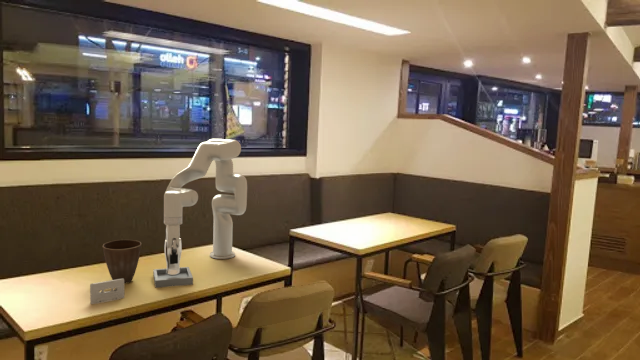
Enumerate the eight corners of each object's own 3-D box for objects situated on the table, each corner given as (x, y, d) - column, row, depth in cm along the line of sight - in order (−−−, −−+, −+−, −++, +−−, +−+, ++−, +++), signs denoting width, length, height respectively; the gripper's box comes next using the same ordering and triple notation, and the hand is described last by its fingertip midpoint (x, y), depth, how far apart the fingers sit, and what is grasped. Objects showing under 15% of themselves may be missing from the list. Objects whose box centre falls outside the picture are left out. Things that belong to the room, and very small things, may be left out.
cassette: (123, 296, 185) (123, 277, 184) (124, 298, 183) (124, 279, 182) (89, 303, 177) (89, 283, 176) (91, 305, 176) (90, 284, 175)
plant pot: (127, 289, 193) (127, 250, 191) (95, 285, 196) (94, 247, 194) (148, 277, 207) (148, 241, 205) (117, 273, 210) (117, 238, 208)
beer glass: (171, 277, 200) (171, 242, 198) (161, 273, 204) (161, 239, 203) (184, 273, 206) (185, 239, 204) (174, 270, 210) (175, 236, 208)
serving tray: (153, 276, 209) (153, 269, 209) (188, 273, 215) (188, 266, 215) (155, 287, 196) (155, 280, 195) (192, 284, 201) (193, 277, 201)
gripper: (162, 216, 209) (162, 255, 211) (165, 225, 193) (165, 267, 195) (180, 215, 211) (180, 254, 214) (184, 224, 195) (184, 266, 198)
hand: (173, 260), depth 204 cm, fingers closed on beer glass, 6 cm apart
